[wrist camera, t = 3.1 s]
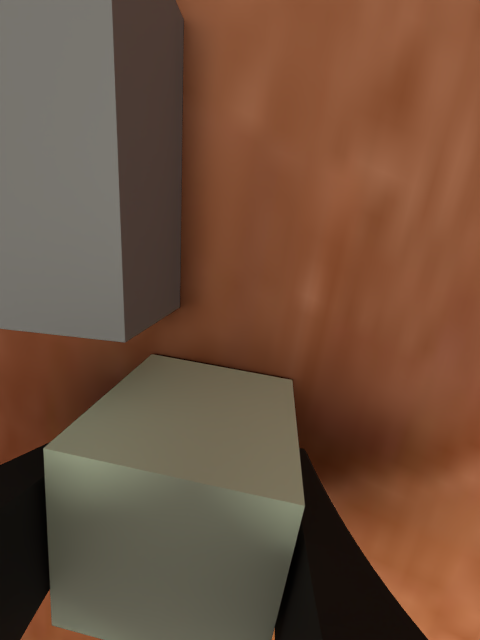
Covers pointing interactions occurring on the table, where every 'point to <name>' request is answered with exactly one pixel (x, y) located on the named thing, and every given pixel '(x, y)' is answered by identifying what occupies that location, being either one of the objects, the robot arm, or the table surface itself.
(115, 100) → the base block
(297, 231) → the table surface
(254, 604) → the sage cube
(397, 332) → the table surface
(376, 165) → the table surface
